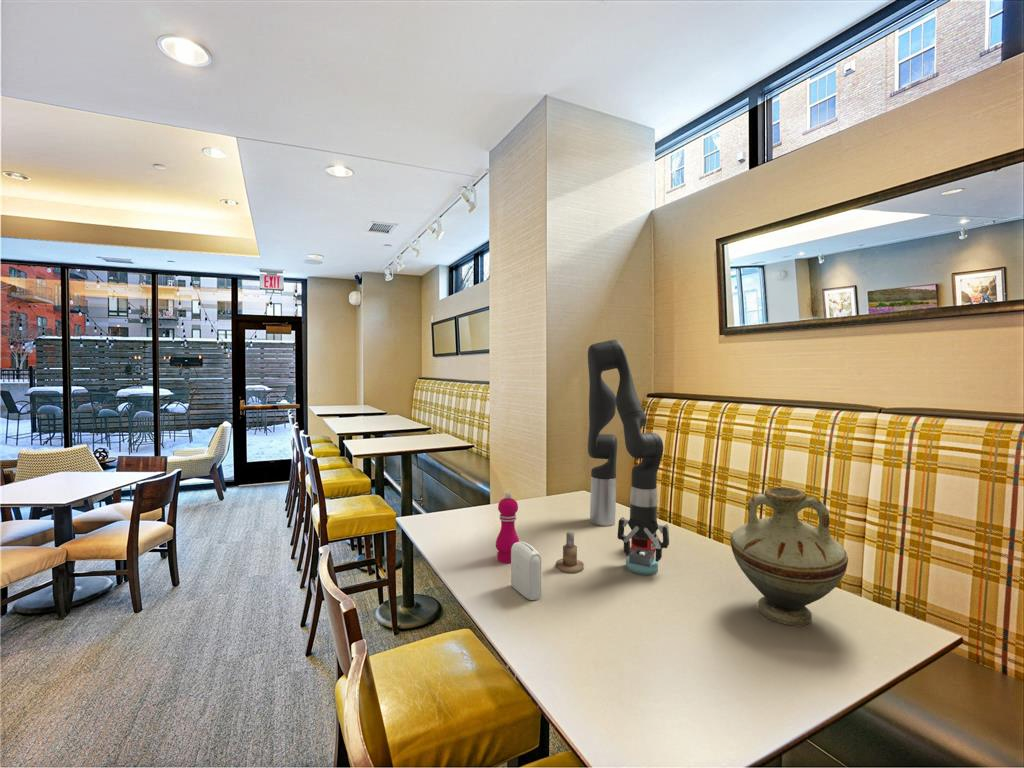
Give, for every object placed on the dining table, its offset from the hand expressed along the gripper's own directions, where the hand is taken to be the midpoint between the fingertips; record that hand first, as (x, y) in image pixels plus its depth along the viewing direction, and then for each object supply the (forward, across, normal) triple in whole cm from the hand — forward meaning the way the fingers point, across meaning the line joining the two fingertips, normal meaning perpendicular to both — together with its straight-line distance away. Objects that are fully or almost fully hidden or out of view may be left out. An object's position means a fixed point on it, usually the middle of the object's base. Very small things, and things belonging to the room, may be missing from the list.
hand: (642, 557), depth 134 cm
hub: (+3, 0, 0) cm, 3 cm away
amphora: (+3, +35, -9) cm, 37 cm away
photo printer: (+3, -23, -30) cm, 38 cm away
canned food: (+3, -3, +14) cm, 15 cm away
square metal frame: (+1, 0, 0) cm, 1 cm away
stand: (+3, -18, -10) cm, 21 cm away
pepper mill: (+3, -37, -14) cm, 40 cm away
